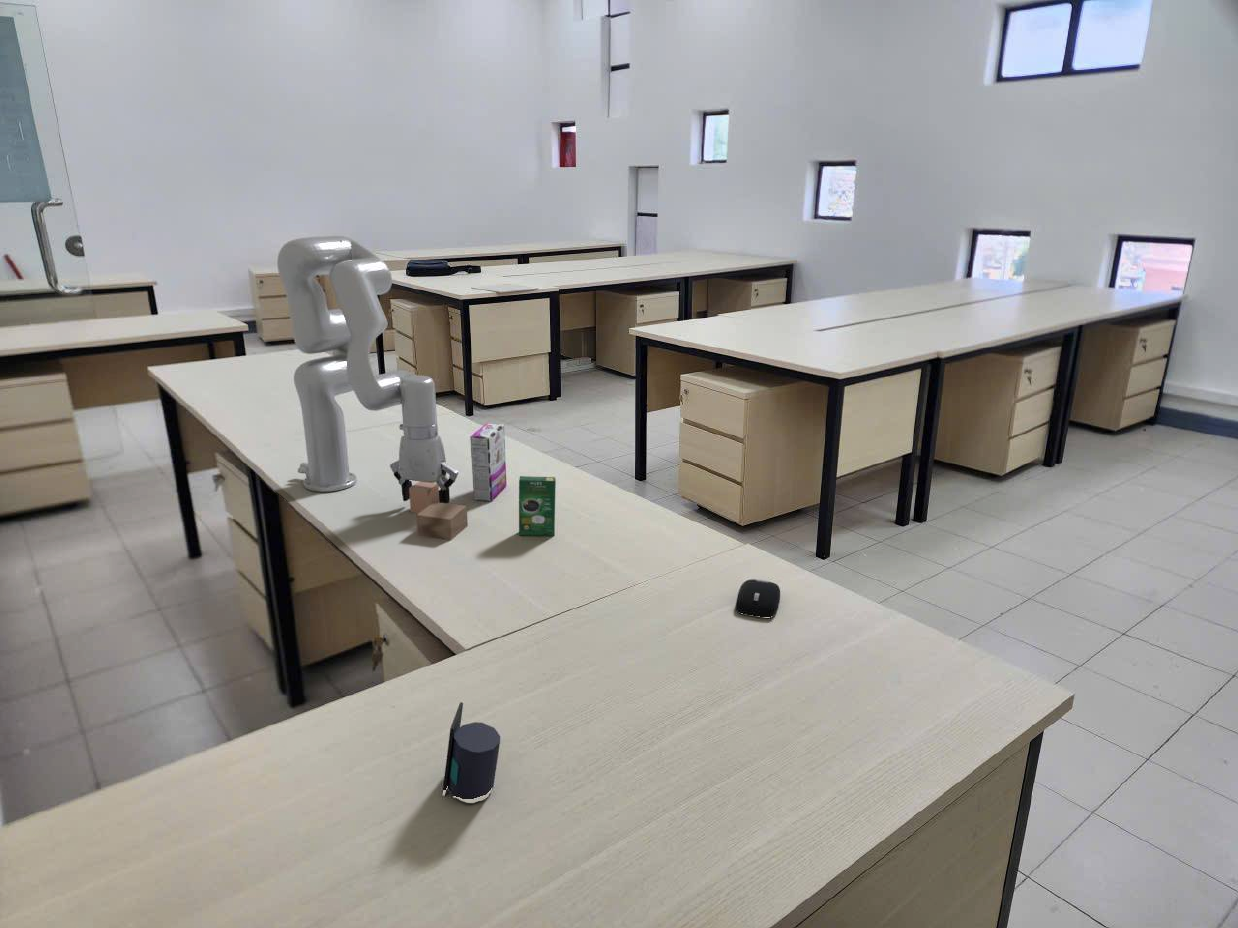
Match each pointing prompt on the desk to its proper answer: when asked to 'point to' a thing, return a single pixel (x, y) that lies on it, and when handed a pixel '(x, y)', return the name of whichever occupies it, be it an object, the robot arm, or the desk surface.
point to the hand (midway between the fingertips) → (426, 501)
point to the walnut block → (442, 520)
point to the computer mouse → (758, 598)
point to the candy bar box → (488, 461)
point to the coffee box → (537, 506)
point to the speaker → (471, 758)
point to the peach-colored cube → (423, 495)
